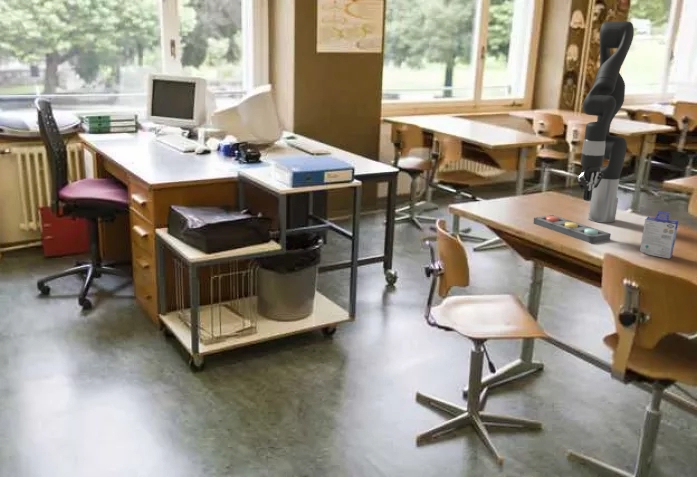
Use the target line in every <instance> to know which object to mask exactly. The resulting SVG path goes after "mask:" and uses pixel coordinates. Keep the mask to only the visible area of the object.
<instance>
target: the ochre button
mask: <svg viewBox="0 0 697 477" xmlns="http://www.w3.org/2000/svg"><path fill="white" fill-rule="evenodd" d="M573 222H574V221H573ZM573 222H565V227H568V228H571V229H573V228H578V224H577V223H578V222H576V223H573Z"/></svg>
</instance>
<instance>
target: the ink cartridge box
mask: <svg viewBox="0 0 697 477" xmlns="http://www.w3.org/2000/svg"><path fill="white" fill-rule="evenodd" d="M662 215H665V216H662ZM669 218H670V213H669V212H665V211H657V214H656V216H655V217H654V216H647V217H646V218H645V220H644V224H643V225H644V227H643V231H642V236H641V242H640V249H639V252H641V253H642V255H643V254H644V255H649V256H654V257H659V258H664V259H671V258H672V257H673V253H674V248H675V244H676V238H677V231H678V228H679V227H678V226H679V220H674V219H669Z"/></svg>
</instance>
